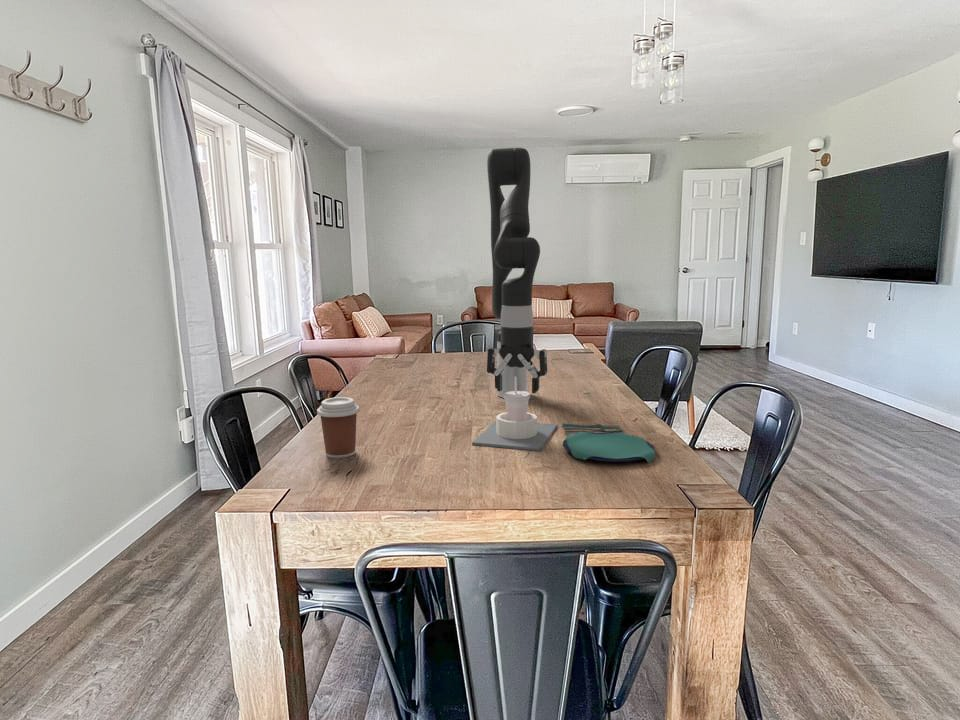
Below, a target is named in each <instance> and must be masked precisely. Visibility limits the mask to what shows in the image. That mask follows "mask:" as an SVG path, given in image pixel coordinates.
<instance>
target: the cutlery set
mask: <svg viewBox="0 0 960 720" xmlns="http://www.w3.org/2000/svg"><path fill="white" fill-rule="evenodd" d="M594 427H596V428H597V429H596V428H594ZM562 428H563V430H564V431H565V432H564V435H566V436H565V439H564V440H563V441H562V447H563V448H564V449H565V450H566V451H567V452H569V453H571V454H572V456H573V457H574V458H576V459H579V460H583V461H586V460H592V461H599V462H609V463H623V462H624V463H625V462H628V463H629V462H633V461H638V460H643V459H645V460H646V461H647V464H649V463H651V462H652V461H653V460H654V459H655V457H656V449H655V446H654V445H653V444H652V443H651V442H649V441H648V440H645V438H642V437H640V436H637V435H631V434H627V433H626V432H622V431H623V430H624V429H623V428H620V426H619V425H609V424H602V423H595V424H575V423H567V422H563V423H562ZM606 429H607V430H606ZM612 429H616V430H612ZM572 430H573V431H577V430H579V431H577V432H573V431H572ZM582 430H583V431H584V432H583V431H582ZM618 430H619V431H618ZM568 431H570V432H568ZM595 431H596V432H595ZM611 432H612V433H611ZM569 434H570V435H569ZM650 461H651V462H650ZM648 462H649V463H648Z"/></svg>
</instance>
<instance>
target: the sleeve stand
mask: <svg viewBox="0 0 960 720" xmlns="http://www.w3.org/2000/svg"><path fill="white" fill-rule="evenodd" d="M495 416H496V417H495V418H496V419H495V421H494V422H492V424H490V425H489V426H488V427H486V429H485V430H483V432H482V433H480V434H479V435H478V436H477V437H476V438H475V439H474V440H472V442H471V445H472V446H481V447H491V448H492V447H493V448H503V449H505V448H506V449H512V450H513V449H514V450H525V451H526V450H527V451H537V452H541V451H542V449H543V448H544V447H545V445H546V443H547V442H548V440H549V439H550V438H551V436H552V435H553V433H554V432H555V431H556V429H557V428H558V424H557V423H546V422H545V423H544V422H538V416H537V415H536V414H534V413H531V412H528V411H527V418H526V421H518V422H516V421H508V418H507V411H506V412H502V413H499V414H497V415H495Z"/></svg>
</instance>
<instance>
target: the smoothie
mask: <svg viewBox="0 0 960 720" xmlns="http://www.w3.org/2000/svg"><path fill="white" fill-rule="evenodd" d="M514 386H515V391H509V392H506V393H504V398H503V399H504V403H505V408H506V412H507V418H508V421H516V422H518V421H526V418H527V412H528V408H529V399H531V393H530V392H528V391H527V392H525V391H517V376H514Z"/></svg>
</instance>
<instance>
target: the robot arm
mask: <svg viewBox="0 0 960 720" xmlns="http://www.w3.org/2000/svg"><path fill="white" fill-rule="evenodd" d="M486 162H487V163H486V165H487V179H488V192H489V202H490V205H489V206H490V246H491V250H490V251H491V262H492V263H491V264H492V266H491V267H492V291H491V293H492V294H491V311H492V314H493V316H494V318H496V319H497V320H499V319H500V331H498V332H497V334H496V346H497V347H494V346H492V347H489V349H487V359H486V361H487V362H486V372H487V374H492V375H494V388H495V389H496V391H497V393H496V394H497V396H498V397H499V398H503V399H504V393H506V392H509V391H515V386H514V376H517V391H525V392H528V372H529V373H530V375H531V376H532V379H531V393H532V394H537V392H538V391H540V378H541V377H544V376H545V375H547V373H548V359H547V358H548V356H547V349H546V348H543V349H538V350H537V349H536V350H535V348H534V313H533V305H532V304H533V283H534V282H533V281H534V277H535V272H536V269H537V266H538V263H539V259H540V255H541V246H540V243H539V242H538V240H537V239H536V238H534V237H529V235H530V232H531V226H530V214H529V200H530V191H531V158H530V153H529V151H528V150H527V149H526V148H524V147H503V148H492V149H491V150H489V151H488V155H487V161H486ZM501 186H515V187H514V188H513V189H512V191H510V192H509V194H508V195H507V196H506V198H505V197H504V195H503V192H502V188H501ZM513 269H523V272H522V274H521V275H519V276H518V277H514V278H509V279H508V276H509V274H511V272H512V271H513ZM534 356H536V359H537V360H539V370H538V368H537V367H536V364H535V363H534V362H533V360H532V359H533V358H534ZM496 361H497V363H496ZM495 364H497V367H495Z"/></svg>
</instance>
